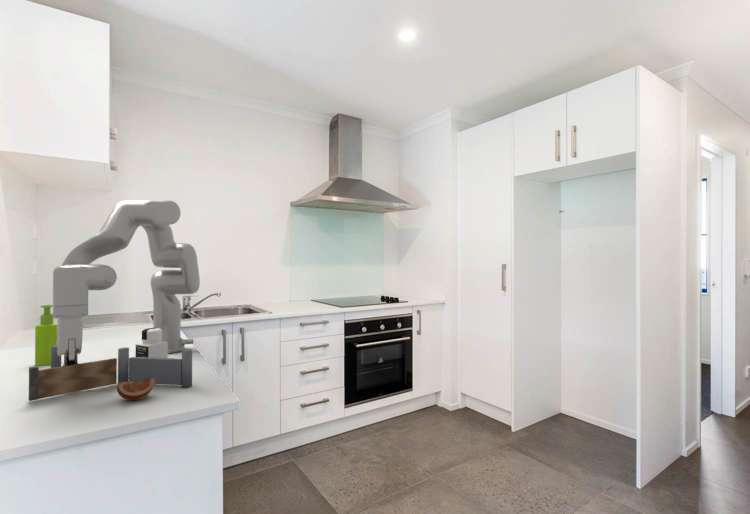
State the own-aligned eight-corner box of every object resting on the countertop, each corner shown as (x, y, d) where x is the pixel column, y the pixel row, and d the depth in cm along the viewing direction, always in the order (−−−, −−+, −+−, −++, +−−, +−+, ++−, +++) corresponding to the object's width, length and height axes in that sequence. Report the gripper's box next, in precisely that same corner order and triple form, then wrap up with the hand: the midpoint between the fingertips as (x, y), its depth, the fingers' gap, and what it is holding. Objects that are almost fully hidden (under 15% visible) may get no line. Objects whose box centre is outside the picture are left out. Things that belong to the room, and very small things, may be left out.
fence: (193, 385, 109) (194, 349, 109) (188, 388, 107) (188, 351, 107) (56, 378, 115) (56, 345, 115) (47, 381, 112) (48, 347, 112)
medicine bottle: (134, 364, 131) (135, 329, 131) (155, 360, 137) (155, 326, 138) (147, 367, 128) (148, 331, 128) (168, 362, 134) (168, 327, 134)
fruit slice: (153, 392, 103) (153, 374, 103) (157, 400, 98) (157, 380, 98) (115, 399, 98) (116, 379, 98) (117, 407, 93) (118, 386, 93)
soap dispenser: (50, 365, 130) (51, 305, 130) (30, 365, 130) (30, 305, 130) (64, 361, 135) (65, 304, 136) (45, 361, 136) (46, 304, 136)
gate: (114, 382, 110) (115, 354, 110) (116, 383, 109) (117, 355, 109) (28, 399, 96) (29, 367, 96) (29, 401, 95) (30, 368, 95)
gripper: (52, 309, 108) (51, 375, 108) (53, 315, 96) (53, 389, 96) (85, 307, 113) (85, 370, 113) (90, 313, 101) (90, 383, 101)
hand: (70, 379), depth 104 cm, fingers closed
